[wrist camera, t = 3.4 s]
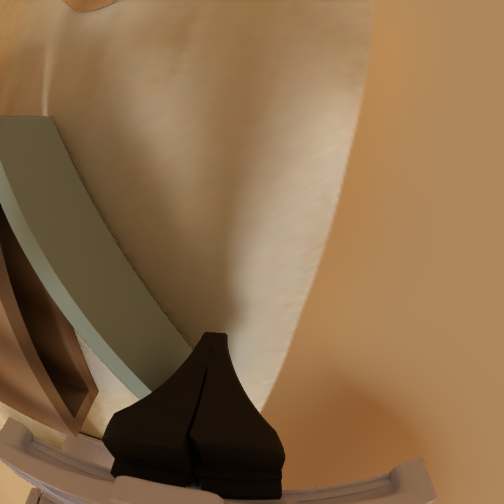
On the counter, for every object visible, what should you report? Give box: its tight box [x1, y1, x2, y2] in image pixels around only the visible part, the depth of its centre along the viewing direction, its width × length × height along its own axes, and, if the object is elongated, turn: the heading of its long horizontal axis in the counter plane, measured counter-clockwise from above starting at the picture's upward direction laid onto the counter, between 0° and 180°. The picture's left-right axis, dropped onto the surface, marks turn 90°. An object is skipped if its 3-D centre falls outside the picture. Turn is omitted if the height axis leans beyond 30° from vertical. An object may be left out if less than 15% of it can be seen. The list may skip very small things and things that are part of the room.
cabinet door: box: [0, 116, 193, 400], centre depth 10 cm, size 19×2×5 cm, turn 27°
